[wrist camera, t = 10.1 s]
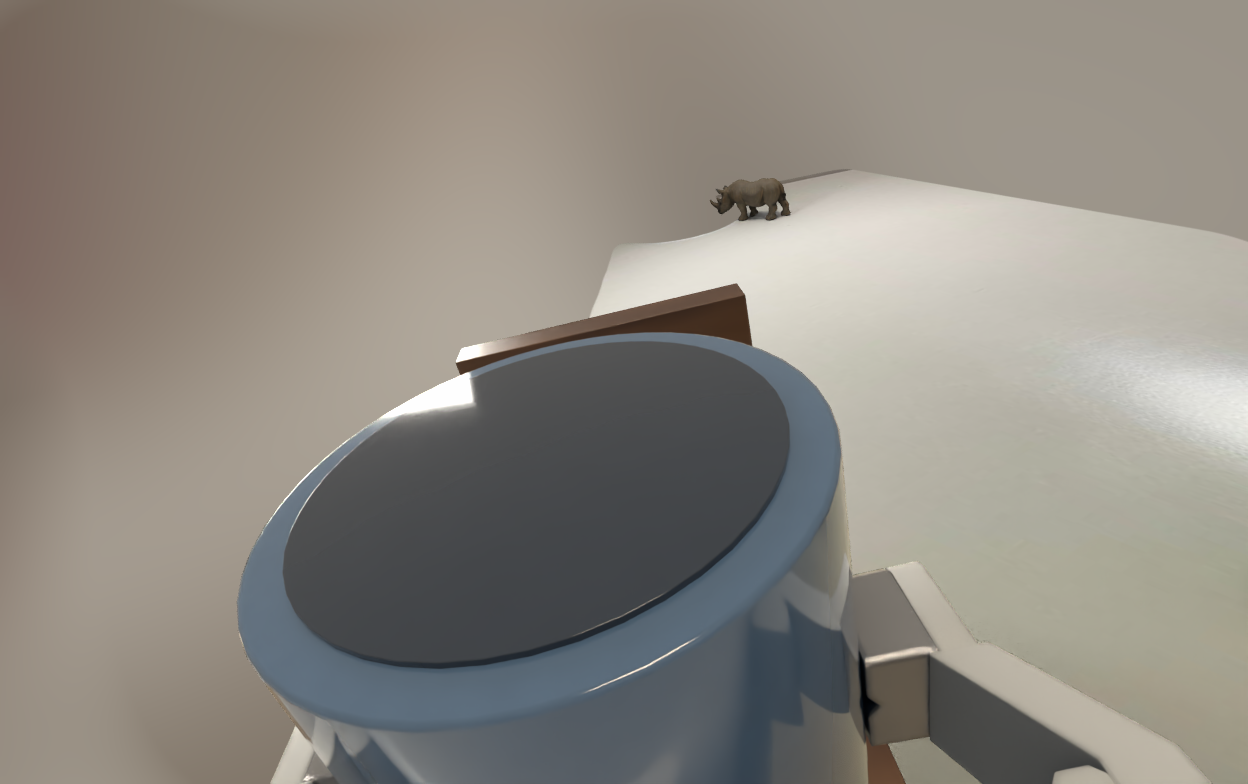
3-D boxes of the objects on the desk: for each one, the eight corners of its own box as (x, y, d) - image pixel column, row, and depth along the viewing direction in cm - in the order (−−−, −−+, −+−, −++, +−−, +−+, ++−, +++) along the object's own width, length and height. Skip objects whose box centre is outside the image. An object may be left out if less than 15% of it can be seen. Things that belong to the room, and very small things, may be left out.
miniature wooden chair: (922, 952, 21) (919, 533, 12) (565, 1018, 21) (332, 660, 13) (782, 590, 35) (736, 282, 26) (570, 635, 35) (461, 348, 27)
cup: (813, 1311, 8) (637, 918, 3) (442, 985, 12) (114, 587, 7) (916, 791, 13) (905, 331, 8) (629, 679, 16) (509, 323, 12)
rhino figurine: (720, 214, 108) (714, 178, 105) (794, 212, 99) (790, 173, 96) (707, 222, 106) (701, 185, 103) (782, 220, 97) (777, 180, 94)
